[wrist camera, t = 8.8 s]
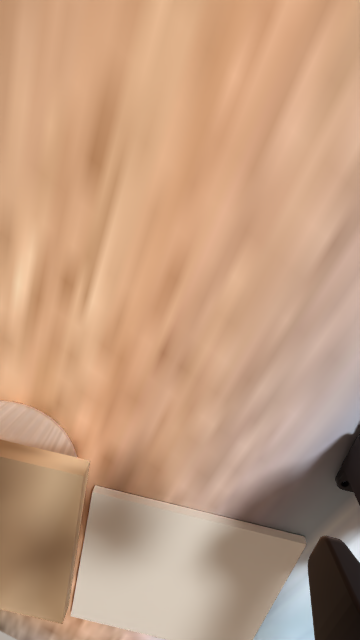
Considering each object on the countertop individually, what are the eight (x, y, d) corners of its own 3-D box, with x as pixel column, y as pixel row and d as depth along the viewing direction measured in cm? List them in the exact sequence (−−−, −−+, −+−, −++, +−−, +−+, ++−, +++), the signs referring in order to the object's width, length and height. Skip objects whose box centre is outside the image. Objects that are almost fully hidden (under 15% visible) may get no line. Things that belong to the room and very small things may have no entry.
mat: (304, 536, 25) (306, 544, 25) (241, 649, 31) (242, 658, 31) (95, 485, 25) (92, 492, 24) (73, 608, 31) (70, 616, 31)
